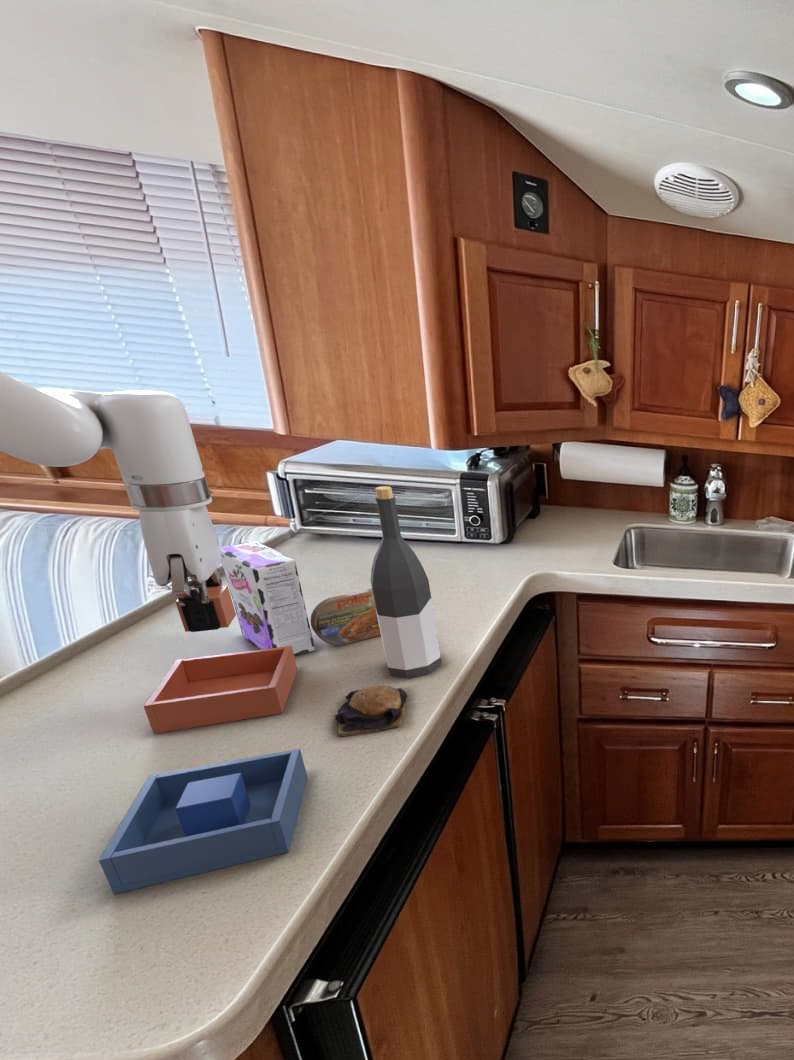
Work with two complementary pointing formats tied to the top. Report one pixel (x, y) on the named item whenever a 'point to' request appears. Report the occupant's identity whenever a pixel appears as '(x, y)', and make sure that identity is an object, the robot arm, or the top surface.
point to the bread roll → (371, 710)
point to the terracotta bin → (222, 689)
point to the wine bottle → (402, 599)
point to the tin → (346, 618)
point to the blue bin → (167, 854)
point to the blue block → (213, 804)
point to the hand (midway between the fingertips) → (210, 620)
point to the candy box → (267, 597)
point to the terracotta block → (216, 606)
